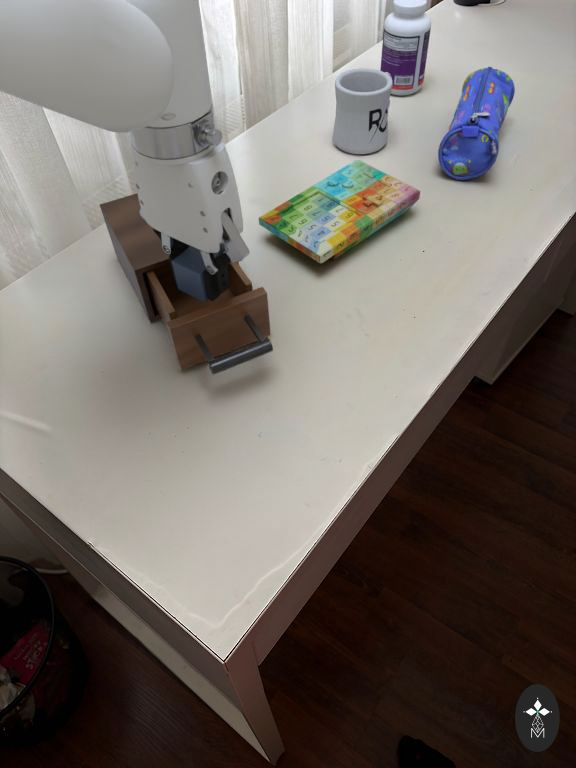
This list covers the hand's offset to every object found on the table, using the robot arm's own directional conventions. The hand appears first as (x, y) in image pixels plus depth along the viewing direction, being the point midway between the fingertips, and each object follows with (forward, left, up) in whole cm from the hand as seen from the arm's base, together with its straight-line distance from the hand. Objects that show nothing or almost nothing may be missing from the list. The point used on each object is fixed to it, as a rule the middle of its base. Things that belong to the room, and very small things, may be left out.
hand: (202, 283), depth 66 cm
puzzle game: (+24, +11, -8) cm, 28 cm away
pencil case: (+53, +18, -8) cm, 57 cm away
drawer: (0, -1, -7) cm, 7 cm away
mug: (+40, +30, -8) cm, 51 cm away
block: (0, 0, 0) cm, 0 cm away
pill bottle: (+55, +42, -8) cm, 69 cm away
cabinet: (0, +13, -8) cm, 15 cm away
